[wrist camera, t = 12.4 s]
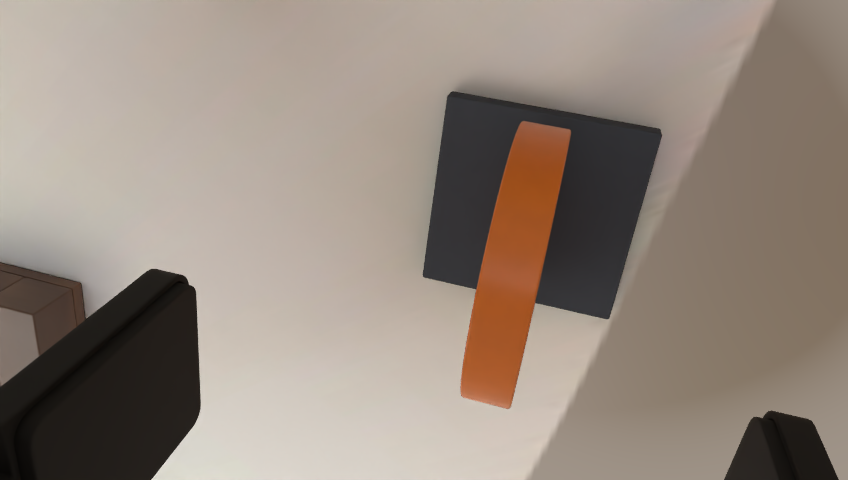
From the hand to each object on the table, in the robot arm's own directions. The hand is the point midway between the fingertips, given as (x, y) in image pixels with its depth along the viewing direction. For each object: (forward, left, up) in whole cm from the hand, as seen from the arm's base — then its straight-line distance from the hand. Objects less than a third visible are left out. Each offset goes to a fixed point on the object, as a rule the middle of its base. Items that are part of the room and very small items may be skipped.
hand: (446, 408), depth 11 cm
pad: (+1, 0, -11) cm, 10 cm away
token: (0, 0, -10) cm, 10 cm away
